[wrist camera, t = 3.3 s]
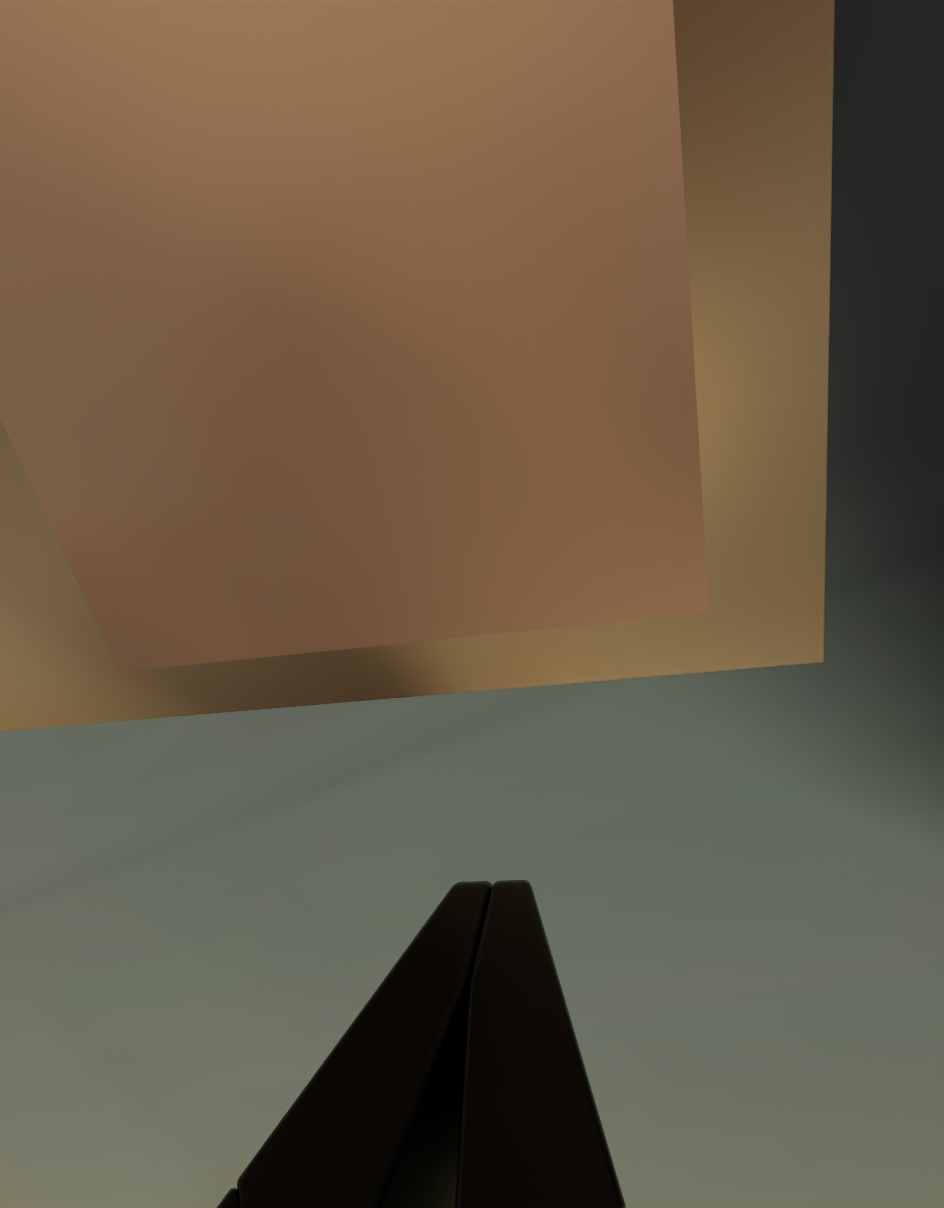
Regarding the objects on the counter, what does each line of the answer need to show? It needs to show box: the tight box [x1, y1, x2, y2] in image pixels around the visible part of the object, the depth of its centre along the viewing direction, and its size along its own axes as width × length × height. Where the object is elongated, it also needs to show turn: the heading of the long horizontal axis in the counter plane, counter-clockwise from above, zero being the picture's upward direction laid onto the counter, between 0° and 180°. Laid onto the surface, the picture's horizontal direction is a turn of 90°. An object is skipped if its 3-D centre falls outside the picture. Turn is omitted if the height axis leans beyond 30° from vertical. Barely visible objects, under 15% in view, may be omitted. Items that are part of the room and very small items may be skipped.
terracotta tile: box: [0, 0, 709, 672], centre depth 5 cm, size 4×4×2 cm
